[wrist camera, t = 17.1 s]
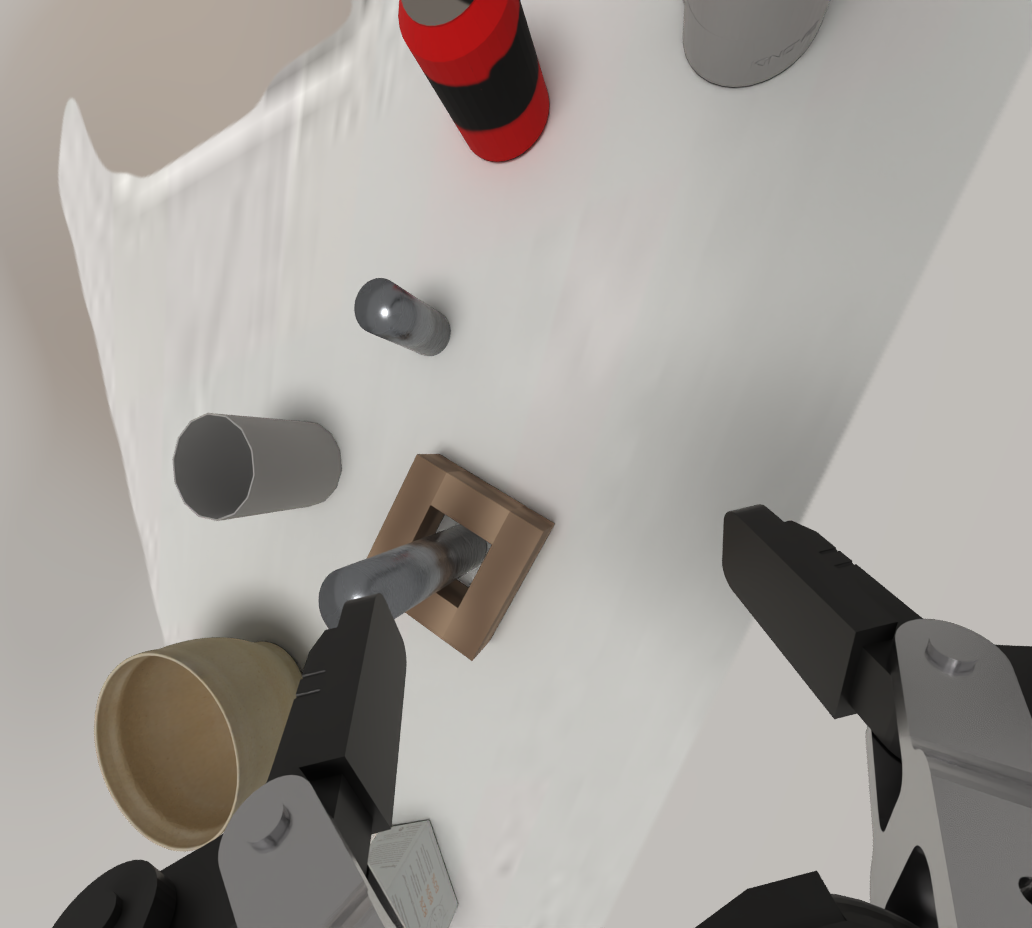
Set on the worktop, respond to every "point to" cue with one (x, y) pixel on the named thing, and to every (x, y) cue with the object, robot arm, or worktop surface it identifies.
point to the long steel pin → (403, 573)
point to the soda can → (480, 70)
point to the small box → (414, 875)
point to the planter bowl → (192, 734)
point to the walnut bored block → (483, 511)
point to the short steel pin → (401, 317)
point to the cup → (253, 465)
